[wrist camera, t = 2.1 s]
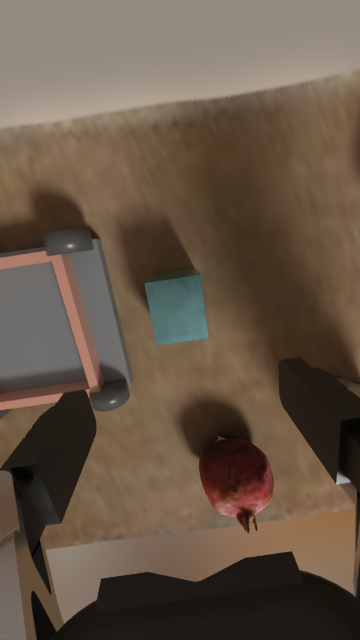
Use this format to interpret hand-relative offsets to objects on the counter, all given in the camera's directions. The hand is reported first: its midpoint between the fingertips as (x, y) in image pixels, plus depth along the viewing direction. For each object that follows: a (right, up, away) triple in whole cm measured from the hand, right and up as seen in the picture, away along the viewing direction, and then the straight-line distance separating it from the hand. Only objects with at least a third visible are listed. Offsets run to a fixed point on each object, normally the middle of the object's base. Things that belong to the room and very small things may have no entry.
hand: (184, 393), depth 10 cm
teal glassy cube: (-1, +6, +18) cm, 19 cm away
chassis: (-17, +2, +18) cm, 25 cm away
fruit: (+7, -15, +25) cm, 30 cm away
